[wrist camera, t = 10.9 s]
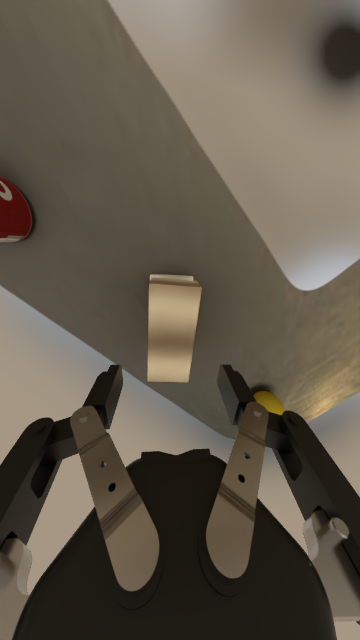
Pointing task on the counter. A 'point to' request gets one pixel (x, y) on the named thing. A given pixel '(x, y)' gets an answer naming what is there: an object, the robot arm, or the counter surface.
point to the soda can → (13, 213)
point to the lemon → (269, 402)
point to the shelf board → (171, 328)
